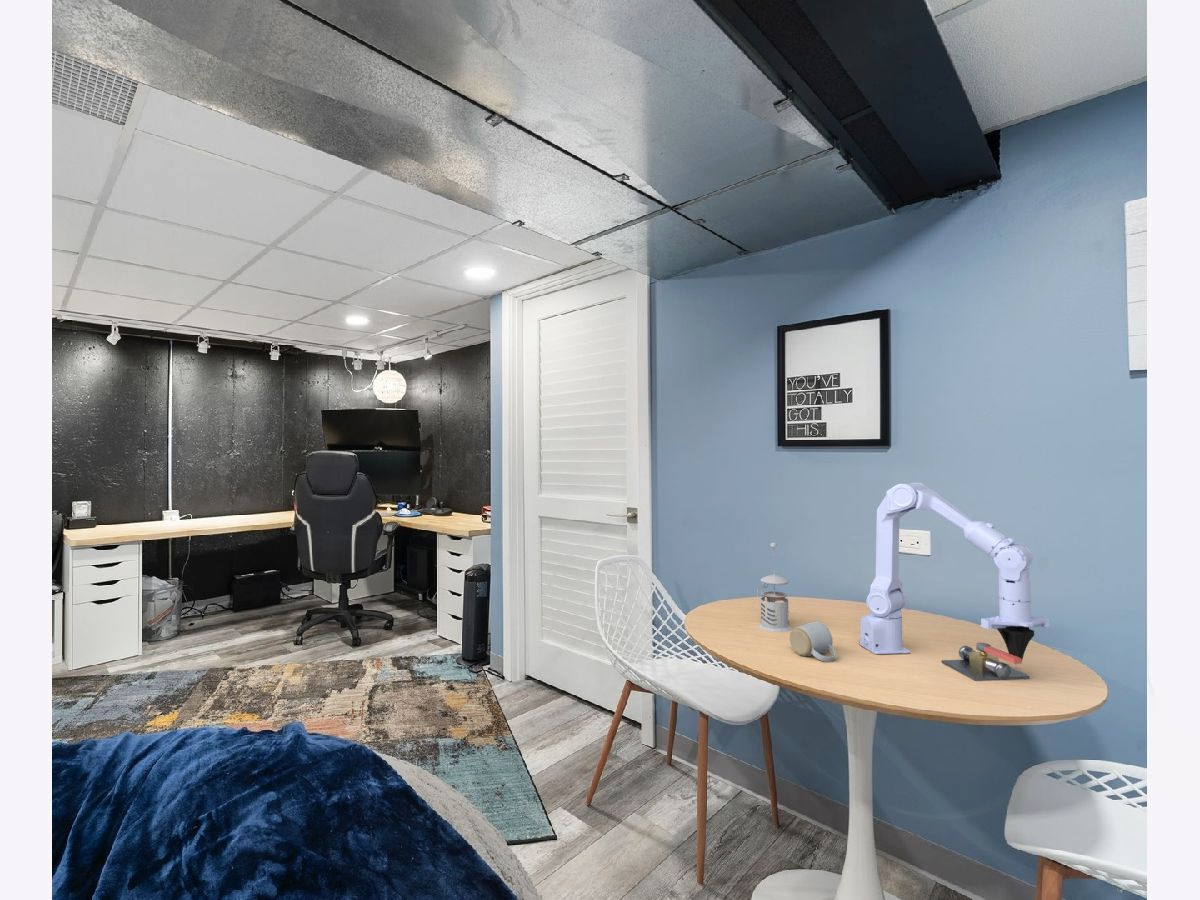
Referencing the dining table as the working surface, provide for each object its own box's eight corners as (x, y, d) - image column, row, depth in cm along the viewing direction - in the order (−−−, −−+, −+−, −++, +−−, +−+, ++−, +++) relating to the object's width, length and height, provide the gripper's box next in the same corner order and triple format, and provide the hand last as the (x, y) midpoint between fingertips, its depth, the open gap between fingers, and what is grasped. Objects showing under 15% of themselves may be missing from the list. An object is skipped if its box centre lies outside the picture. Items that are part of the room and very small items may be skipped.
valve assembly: (1031, 679, 125) (1031, 659, 125) (976, 681, 124) (976, 661, 124) (990, 660, 137) (990, 641, 137) (940, 661, 136) (939, 643, 136)
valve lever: (973, 648, 132) (973, 643, 132) (984, 647, 132) (983, 642, 132) (1012, 664, 122) (1012, 658, 122) (1023, 663, 122) (1023, 658, 122)
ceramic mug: (787, 652, 144) (787, 622, 144) (809, 646, 148) (809, 617, 148) (821, 666, 135) (821, 634, 135) (843, 659, 139) (843, 629, 139)
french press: (772, 633, 159) (771, 545, 159) (746, 623, 169) (745, 540, 170) (799, 629, 163) (798, 543, 163) (772, 618, 173) (771, 538, 174)
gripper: (997, 604, 120) (999, 668, 120) (1061, 602, 121) (1062, 665, 121) (973, 596, 127) (974, 656, 127) (1033, 594, 128) (1035, 654, 128)
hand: (1016, 660), depth 124 cm, fingers closed
